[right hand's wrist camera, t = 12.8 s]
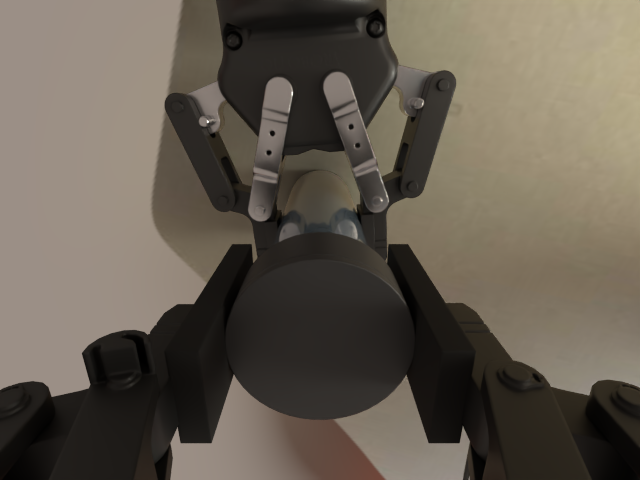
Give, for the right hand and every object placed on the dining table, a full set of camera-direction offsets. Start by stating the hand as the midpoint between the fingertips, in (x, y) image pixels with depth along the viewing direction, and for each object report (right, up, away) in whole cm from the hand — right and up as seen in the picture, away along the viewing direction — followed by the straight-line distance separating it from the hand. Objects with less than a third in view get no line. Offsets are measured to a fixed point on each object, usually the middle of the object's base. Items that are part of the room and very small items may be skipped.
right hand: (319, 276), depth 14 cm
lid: (0, -1, -4) cm, 4 cm away
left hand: (0, 0, +7) cm, 7 cm away
